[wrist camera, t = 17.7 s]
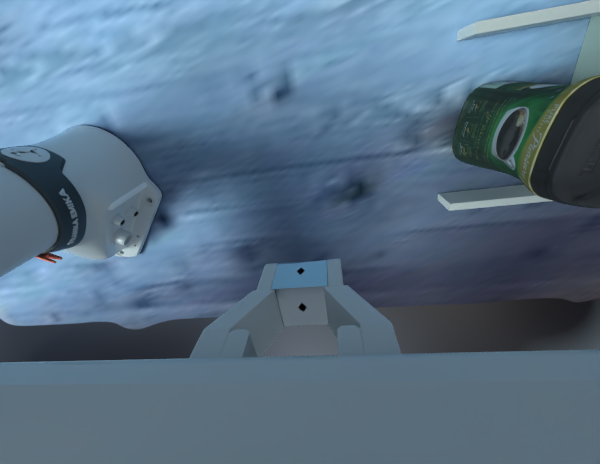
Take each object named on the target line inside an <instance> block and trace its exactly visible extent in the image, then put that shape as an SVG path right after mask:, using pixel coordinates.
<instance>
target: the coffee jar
mask: <svg viewBox="0 0 600 464" xmlns="http://www.w3.org/2000/svg"><path fill="white" fill-rule="evenodd" d="M453 153H454V155H455V157H456V158H457V159H459V160H460V161H462V162H465V163H468V164H471V165H474V166H478V167H483V168H487V169H492V170H496V171H500V172H503V173H506V174H509V175H512V176H514V177H516V178H518V179H520V180H521V181H522V182H523V183H524V185H525V186H526V187H527V188H528V190H530V191H531V192H532V193H533V194H535V195H537V196H539V197H541V198H545V199H549V200H553V201H557V202H559V203H563V204H568V205H573V206H579V207H587V208H600V75H597V76H593V77H589V78H586V79H583V80H581V81H578V82H576V83H574V84H571V85H552V84H539V83H530V82H518V81H503V82H492V83H487V84H484V85H482V86H480V87H478V88H476V89H475V90H474V91H473V92H472V93H471V94H470V95H469V96H468V98H467V99H466V101H465V103H464V106H463V108H462V111H461V113H460V116H459V119H458V122H457V126H456V129H455V134H454V139H453Z"/></svg>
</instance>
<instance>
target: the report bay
mask: <svg viewBox="0 0 600 464" xmlns="http://www.w3.org/2000/svg"><path fill="white" fill-rule="evenodd" d="M589 17H591V19H590V22H589V25H588V29H587V32H586V35H585V38H584V41H583V45H582V48H581V51H580V54H579V57H578V61H577V64H576V67H575V70H574V74H573V77H572V80H571V83H570V85H571V84H574V83H576V82H578V81H581V80H583V79H586V78H589V77H593V76H597V75H600V0H591V1H585V2H580V3H575V4H569V5H564V6H559V7H553V8H548V9H542V10H537V11H532V12H526V13H521V14H515V15H510V16H505V17H499V18H494V19H489V20H483V21H478V22H475V23H473V24H471V25H468V26H466V27H464V28H462V29H460V30H458V32H457V41H460V40H466V39H472V38H477V37H483V36H488V35H494V34H500V33H505V32H511V31H516V30H522V29H528V28H533V27H539V26H545V25H550V24H556V23H561V22H567V21H573V20H578V19H584V18H589ZM438 201H439V202H440V203H441V204H443V205H444V206H445V207H446V208H447V209H448V210H449V211H451V210H462V209H472V208H483V207H493V206H504V205H515V204H525V203H536V202H546V201H553V200H549V199H545V198H541V197H539V196H537V195H535V194H533V193H532V192H531V191H530V190H528V188H527V187H526V186H525V185H516V186H506V187H497V188H487V189H477V190H468V191H458V192H449V193H439V194H438Z"/></svg>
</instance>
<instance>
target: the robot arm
mask: <svg viewBox="0 0 600 464" xmlns="http://www.w3.org/2000/svg"><path fill="white" fill-rule="evenodd" d="M161 198H162V193H161V191H160V190H159V188H158V187H157V186H156V185H155V184H154V183H153V182H152V181H151V180H150V179H149V178H148V176H147V174H146V173H145V171H144V168H143V167H142V165H141V163H140V161H139V160H138V158H137V157H136V155H135V154H134V153H133V152H132V150H131V149H130V148H129V147H128V146H127V145H126V144H125V143H123V142H122V141H121V140H120V139H118V138H117V137H116V136H114V135H112V134H111V133H109V132H107V131H105V130H102V129H100V128H97V127H93V126H87V125H79V126H74V127H71V128H68V129H67V130H65V131H63V132H62V133H60V134H58V135H56V136H54V137H52V138H50V139H48V140H45V141H42V142H40V143H37V144H33V145H28V146H16V147H8V148H2V149H0V277H2V276H3V275H5V274H7V273H9V272H10V271H12V270H14V269H15V268H17V267H19V266H20V265H22V264H24V263H25V262H27V261H29V260H30V259H32V258H34V257H36V258H39V259H42V260H45V261H48V262H52V263H56V261H54V260H51V259H58V260H61V259H62V257H59V256H56V255H54V254H51V253H50V252H55V251H59V250H61V251H63V252H66V253H69V254H72V255H75V256H78V257H82V258H86V259H93V260H103V259H107V258H110V257H112V256H120V257H134V256H137V255H138V254H140V252H141V250H142V247H143V245H144V242H145V240H146V237H147V235H148V232H149V229H150V227H151V224H152V222H153V219H154V217H155V214H156V211H157V209H158V206H159V204H160V201H161ZM150 199H151V200H152V201H151V200H150ZM49 258H50V259H49ZM300 325H328V326H329V327H330V329H331V330H332V331H333V333H334V334H335V336H336V337H337V339H338V355H331V356H330V355H329V356H327V355H326V356H283V357H262V356H263V354H264V353H265V352H266V350H267V349H268V348H269V346H270V345H271V344H272V343H273V341H274V340H275V339H276V337H277V336H278V335H279V334H280V332H281V331H282V330H283V328H284V327H286V326H300ZM0 464H600V350H557V351H508V352H467V353H466V352H463V353H427V354H426V353H422V354H401V351H400V348H399V345H398V342H397V339H396V335H395V332H394V328H393V325H392V323H391V322H390V321H389V320H388V319H387V318H385V317H384V316H383V315H382V314H381V313H379V312H378V311H377V310H376V309H375V308H374V307H372V306H371V305H370V304H369V303H368V302H367V301H365V300H364V299H363V298H362V297H361V296H359V295H358V294H357V293H356V292H355V291H354V290H352V289H351V288H350V287H349V286H348V285H343V276H342V267H341V259H330V260H322V261H311V262H291V263H273V264H266V265H265V266H264V269H263V272H262V275H261V278H260V281H259V284H258V287H257V290H256V291H252V292H250V293H249V294H248V295H247V296H245V297H244V298H243V299H242V300H240V301H239V302H238V303H237V304H235V305H234V306H233V307H232V308H230V309H229V310H228V311H227V312H225V313H224V314H223V315H221V316H220V317H219V318H218V319H216V320H215V321H214V322H213V323H212V324H210V325H209V326H208V327H207V328H205V329H204V330H203V332H202V334H201V336H200V338H199V340H198V342H197V344H196V346H195V348H194V350H193V352H192V354H191V356H190V358H189V359H151V360H149V359H148V360H105V361H103V360H102V361H58V362H57V361H56V362H9V363H0Z"/></svg>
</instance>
